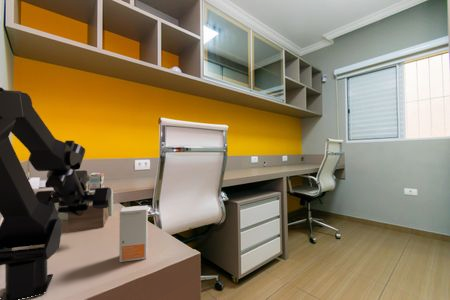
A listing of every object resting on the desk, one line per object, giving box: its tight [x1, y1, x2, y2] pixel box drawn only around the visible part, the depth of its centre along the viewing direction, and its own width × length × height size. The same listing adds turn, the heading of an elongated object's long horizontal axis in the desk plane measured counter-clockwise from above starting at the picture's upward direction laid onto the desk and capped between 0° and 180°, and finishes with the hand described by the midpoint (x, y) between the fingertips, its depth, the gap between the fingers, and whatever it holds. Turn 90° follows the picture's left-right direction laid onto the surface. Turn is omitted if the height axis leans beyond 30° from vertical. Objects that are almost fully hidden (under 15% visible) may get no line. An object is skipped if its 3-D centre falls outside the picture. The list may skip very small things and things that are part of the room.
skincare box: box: [119, 205, 149, 263], centre depth 52 cm, size 6×4×12 cm
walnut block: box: [67, 203, 109, 233], centre depth 77 cm, size 14×10×8 cm
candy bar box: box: [87, 172, 105, 191], centre depth 92 cm, size 11×5×16 cm, turn 25°
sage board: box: [52, 188, 114, 221], centre depth 84 cm, size 3×20×10 cm, turn 107°
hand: (81, 214), depth 66 cm, fingers closed
